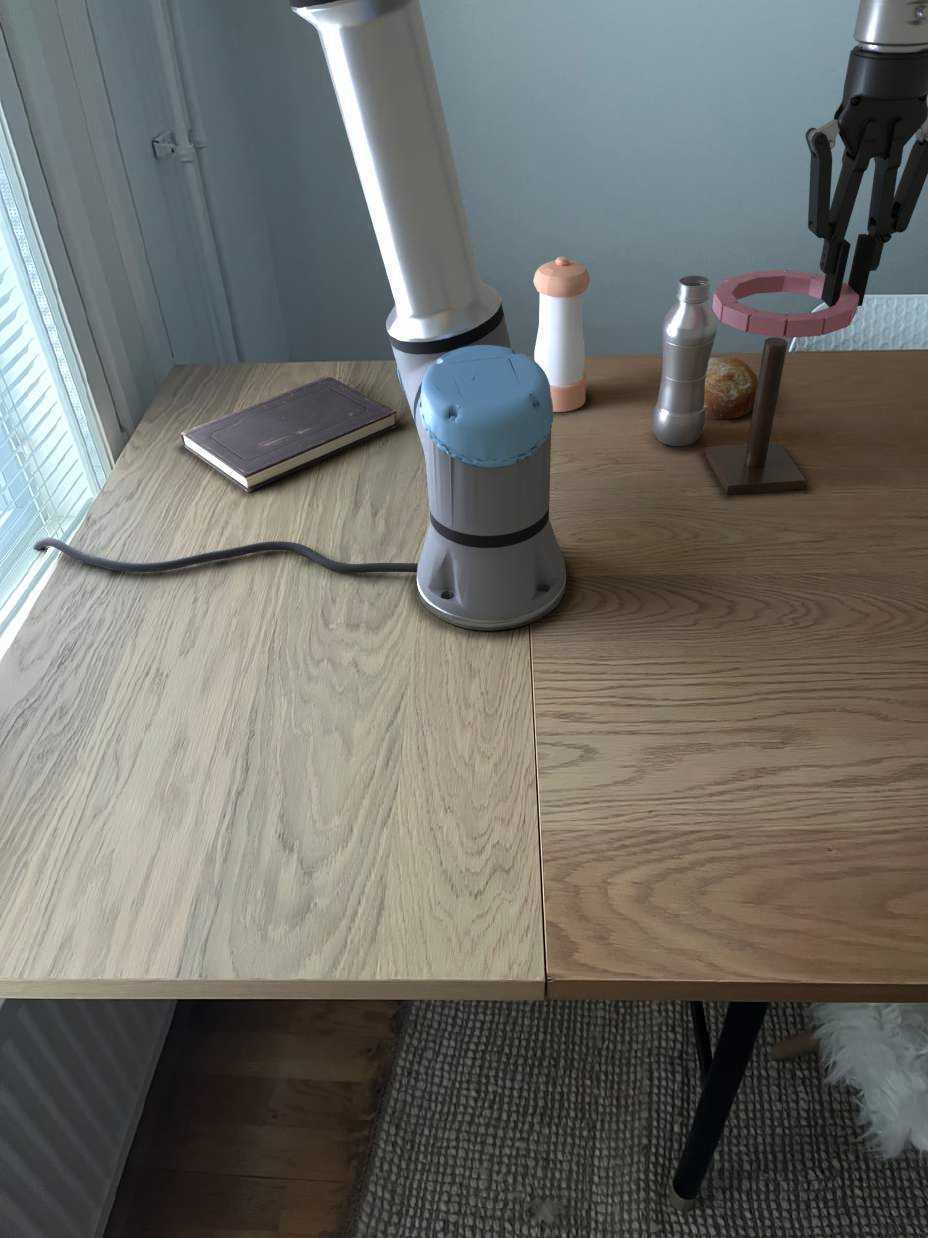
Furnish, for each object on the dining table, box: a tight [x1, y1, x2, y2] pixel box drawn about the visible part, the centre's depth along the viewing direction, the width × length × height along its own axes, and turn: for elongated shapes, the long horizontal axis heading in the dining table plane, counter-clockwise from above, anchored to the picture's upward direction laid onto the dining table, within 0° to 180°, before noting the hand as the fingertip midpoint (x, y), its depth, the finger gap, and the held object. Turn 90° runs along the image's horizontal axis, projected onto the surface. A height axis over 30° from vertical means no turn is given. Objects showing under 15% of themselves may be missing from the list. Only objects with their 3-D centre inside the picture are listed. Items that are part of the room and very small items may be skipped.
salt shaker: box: [533, 255, 591, 413], centre depth 123 cm, size 7×7×19 cm
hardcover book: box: [180, 375, 399, 493], centre depth 123 cm, size 16×23×2 cm
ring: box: [711, 269, 859, 339], centre depth 100 cm, size 14×14×2 cm
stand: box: [705, 336, 806, 496], centre depth 108 cm, size 9×9×16 cm
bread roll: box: [704, 356, 758, 420], centre depth 125 cm, size 10×10×8 cm
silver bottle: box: [651, 274, 718, 447], centre depth 113 cm, size 6×7×20 cm
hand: (841, 301), depth 100 cm, fingers closed on ring, 2 cm apart
